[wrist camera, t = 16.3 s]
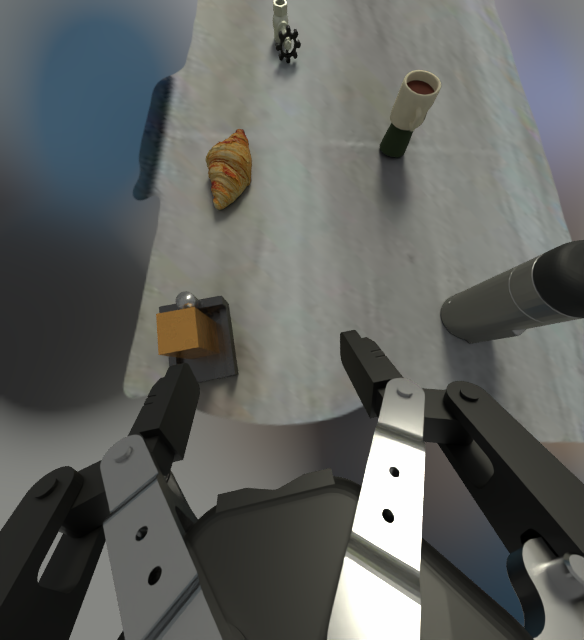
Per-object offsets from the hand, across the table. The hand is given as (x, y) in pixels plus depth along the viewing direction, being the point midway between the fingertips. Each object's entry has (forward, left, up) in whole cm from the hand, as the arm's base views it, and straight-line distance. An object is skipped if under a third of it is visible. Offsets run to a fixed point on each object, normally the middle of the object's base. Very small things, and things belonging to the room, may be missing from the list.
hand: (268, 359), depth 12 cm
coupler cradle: (+13, +9, -31) cm, 34 cm away
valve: (+71, -52, -31) cm, 94 cm away
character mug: (+27, -52, -31) cm, 67 cm away
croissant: (+43, -16, -31) cm, 55 cm away
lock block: (+13, +9, -29) cm, 33 cm away
